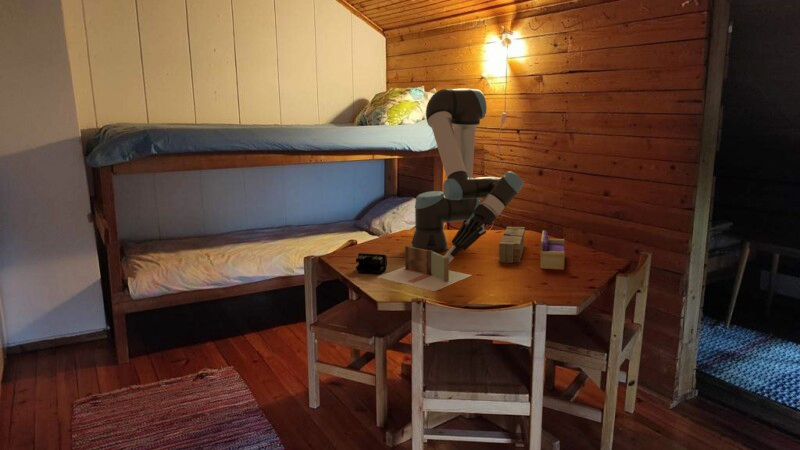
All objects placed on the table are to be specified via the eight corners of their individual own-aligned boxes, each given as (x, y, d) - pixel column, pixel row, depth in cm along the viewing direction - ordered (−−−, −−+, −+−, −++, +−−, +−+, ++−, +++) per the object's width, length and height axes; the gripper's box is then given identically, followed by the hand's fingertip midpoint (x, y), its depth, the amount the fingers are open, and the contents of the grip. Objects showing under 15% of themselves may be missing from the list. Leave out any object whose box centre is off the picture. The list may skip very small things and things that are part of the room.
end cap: (387, 270, 206) (387, 252, 204) (382, 276, 199) (381, 257, 198) (361, 269, 208) (360, 251, 207) (355, 274, 201) (354, 256, 200)
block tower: (519, 266, 213) (525, 245, 240) (519, 244, 211) (525, 225, 238) (498, 264, 215) (506, 244, 242) (498, 243, 213) (506, 224, 240)
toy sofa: (564, 270, 204) (565, 243, 201) (539, 269, 206) (540, 241, 204) (564, 255, 223) (565, 230, 221) (541, 254, 226) (542, 229, 223)
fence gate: (430, 274, 197) (430, 252, 196) (434, 273, 198) (434, 251, 196) (445, 282, 189) (445, 258, 187) (449, 281, 190) (449, 258, 188)
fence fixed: (404, 269, 205) (403, 246, 203) (407, 268, 207) (407, 245, 205) (431, 275, 198) (431, 252, 196) (434, 274, 199) (434, 251, 197)
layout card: (376, 278, 197) (376, 276, 197) (415, 264, 213) (415, 262, 213) (434, 292, 181) (434, 291, 181) (471, 276, 198) (471, 274, 197)
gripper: (504, 220, 191) (459, 273, 189) (485, 214, 203) (443, 264, 201) (491, 206, 188) (445, 260, 186) (472, 200, 200) (429, 251, 198)
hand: (444, 262), depth 193 cm, fingers closed
